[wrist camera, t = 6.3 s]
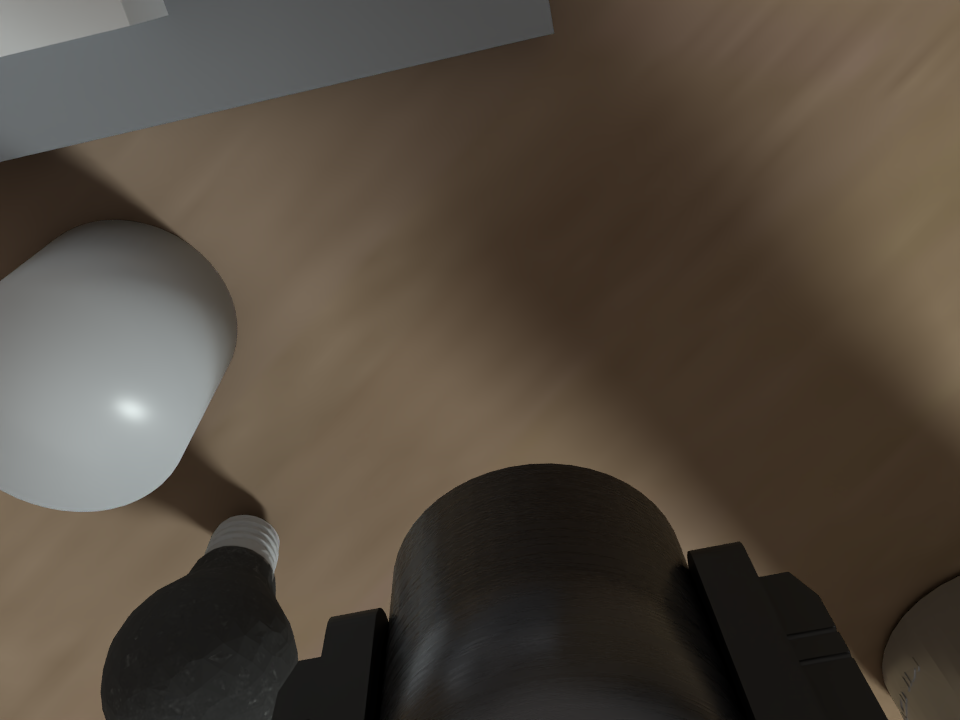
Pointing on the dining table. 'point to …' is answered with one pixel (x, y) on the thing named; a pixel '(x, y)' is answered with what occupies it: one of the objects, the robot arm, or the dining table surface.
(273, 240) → the dining table surface
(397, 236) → the dining table surface
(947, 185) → the dining table surface
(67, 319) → the cylinder
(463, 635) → the dark grey domed cylinder
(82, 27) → the socket block
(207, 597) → the light bulb
